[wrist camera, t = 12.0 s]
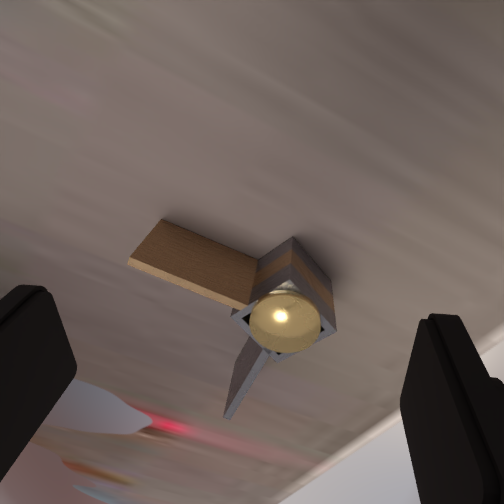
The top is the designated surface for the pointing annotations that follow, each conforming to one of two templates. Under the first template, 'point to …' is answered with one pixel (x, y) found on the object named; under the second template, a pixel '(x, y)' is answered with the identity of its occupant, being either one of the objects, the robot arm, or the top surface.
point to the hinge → (236, 286)
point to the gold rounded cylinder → (285, 321)
